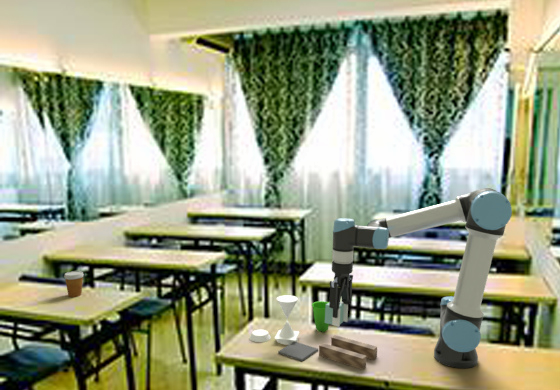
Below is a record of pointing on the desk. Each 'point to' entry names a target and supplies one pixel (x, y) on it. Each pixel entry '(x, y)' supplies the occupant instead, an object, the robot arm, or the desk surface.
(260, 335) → the hourglass
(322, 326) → the cup
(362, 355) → the parallel wooden bars
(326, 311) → the teal block
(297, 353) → the rubber mat
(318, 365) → the desk surface
